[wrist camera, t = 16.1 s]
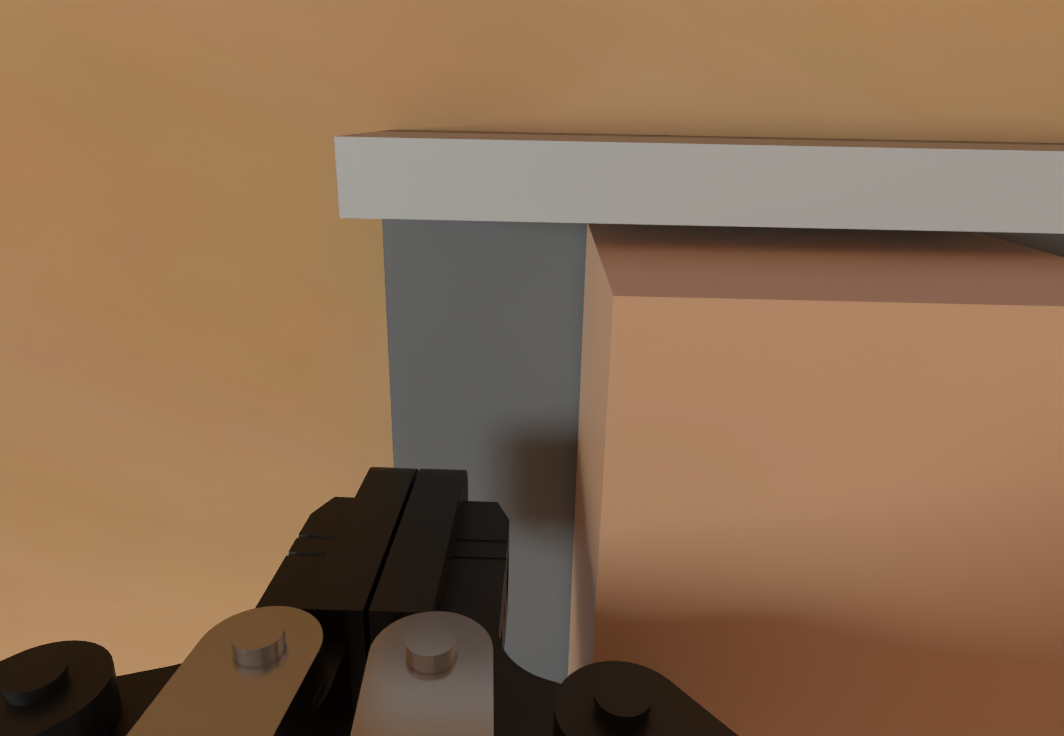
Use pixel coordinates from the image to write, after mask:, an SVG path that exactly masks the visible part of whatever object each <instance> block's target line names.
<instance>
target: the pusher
mask: <svg viewBox="0 0 1064 736" xmlns="http://www.w3.org/2000/svg"><path fill="white" fill-rule="evenodd" d="M603 661H624V662H631V663H635V664H639V665H642V666H645V667H647V668H650V669H652V670H654V671H656V672H658V673H660V674H661V675H663V676H664V677H666V678H667V679H669V680H670V681H671V682H672V683H674V684H675V685H676V686H677V687H679V688H680V689H681V690H682V691H683V692H685V693H686V694H687V695H688V696H690V697H691V698H692V699H693V700H695V701H696V702H697V703H698V704H700V705H701V706H702V707H703V708H705V709H706V710H707V711H708V712H710V713H711V714H712V715H713V716H715V717H716V718H717V719H718V720H720V721H721V722H722V723H723V724H725V725H726V726H727V727H728V728H729V729H731V730H732V731H733V732H734V733H736V734H737V735H738V736H1064V257H1061V256H1058V255H1054V254H1051V253H1047V252H1043V251H1040V250H1036V249H1033V248H1029V247H1026V246H1022V245H1019V244H1015V243H1012V242H1008V241H1004V240H1001V239H997V238H994V237H990V236H987V235H983V234H980V233H976V232H966V231H920V230H875V229H829V228H783V227H737V226H691V225H645V224H600V223H587V239H586V262H585V286H584V309H583V332H582V356H581V379H580V402H579V426H578V449H577V472H576V496H575V519H574V542H573V566H572V589H571V612H570V636H569V659H568V676H569V675H570V674H571V673H573V672H574V671H576V670H577V669H579V668H581V667H584V666H586V665H589V664H593V663H596V662H603Z"/></svg>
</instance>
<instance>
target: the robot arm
mask: <svg viewBox="0 0 1064 736" xmlns="http://www.w3.org/2000/svg"><path fill="white" fill-rule="evenodd" d="M508 584H509V519H508V517H507V516H506V514H505V512H504V511H503V509H502V508H501V506H500V505H499V503H498V502H482V501H468V474H467V470H454V469H422V468H421V469H420V470H418V469H417V468H385V467H371V468H370V469H369V471H368V473H367V475H366V477H365V479H364V481H363V483H362V485H361V487H360V488H359V490H358V492H357V494H356V496H355V498H349V497H334V498H333V499H331V500H330V501H328V502H327V503H326V504H324V505H323V506H321V507H320V508H319V509H317V510H316V511H314V512H313V513H312V514H311V515H310V516H309V518H308V520H307V521H306V523H305V525H304V527H303V528H302V530H301V532H300V533H299V538H296V540H295V542H294V543H293V545H292V547H291V549H290V550H289V555H288V556H286V557H285V559H284V560H283V562H282V564H281V565H280V567H279V569H278V571H277V572H276V574H275V576H274V577H273V579H272V581H271V582H270V584H269V586H268V587H267V589H266V591H265V593H264V594H263V596H262V598H261V599H260V601H259V603H258V604H257V606H256V608H255V609H251V610H247V611H244V612H241V613H239V614H236V615H233V616H231V617H229V618H227V619H225V620H223V621H222V622H220V623H219V624H217V625H216V626H214V627H213V628H212V629H211V630H209V631H208V632H207V633H206V634H205V635H204V636H203V637H202V638H201V640H200V641H199V642H198V643H197V645H196V646H195V647H194V649H193V650H192V651H191V652H190V654H189V655H188V656H187V658H186V659H185V660H184V662H183V663H181V664H177V665H173V666H169V667H163V668H158V669H153V670H148V671H143V672H137V673H132V674H127V675H122V676H116V673H115V668H114V663H113V659H112V656H111V654H110V653H109V652H108V650H106V649H105V648H104V647H102V646H100V645H98V644H95V643H92V642H87V641H61V642H54V643H49V644H45V645H41V646H37V647H34V648H31V649H28V650H25V651H23V652H20V653H18V654H16V655H13V656H11V657H9V658H7V659H5V660H2V661H0V736H738V735H737V734H736V733H734V732H733V731H732V730H731V729H729V728H728V727H727V726H726V725H725V724H723V723H722V722H721V721H720V720H718V719H717V718H716V717H715V716H713V715H712V714H711V713H710V712H708V711H707V710H706V709H705V708H703V707H702V706H701V705H700V704H698V703H697V702H696V701H695V700H693V699H692V698H691V697H690V696H688V695H687V694H686V693H685V692H683V691H682V690H681V689H680V688H679V687H677V686H676V685H675V684H674V683H672V682H671V681H670V680H669V679H667V678H666V677H664V676H663V675H661V674H660V673H658V672H656V671H654V670H652V669H650V668H647V667H645V666H642V665H639V664H635V663H631V662H624V661H603V662H596V663H593V664H589V665H586V666H584V667H581V668H579V669H577V670H576V671H574V672H573V673H571V674H570V675H569V676H568V677H567V678H566V679H565V680H564V681H563V682H562V684H561V683H557V682H554V681H551V680H547V679H544V678H541V677H539V676H536V675H534V674H532V673H530V672H528V671H526V670H524V669H523V668H521V667H520V666H519V665H517V664H516V663H515V662H514V661H513V660H512V659H511V658H510V657H509V656H508V655H507V653H506V652H505V651H504V647H505V636H506V624H507V612H508Z"/></svg>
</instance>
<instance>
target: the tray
mask: <svg viewBox="0 0 1064 736" xmlns="http://www.w3.org/2000/svg"><path fill="white" fill-rule="evenodd" d="M334 141H335V156H336V171H337V186H338V202H339V217H340V218H370V219H382V226H383V247H384V268H385V289H386V310H387V331H388V353H389V374H390V395H391V416H392V437H393V458H394V468H417V469H418V470H420V469H421V468H422V469H454V470H467V474H468V501H482V502H498V503H499V505H500V506H501V508H502V509H503V511H504V512H505V514H506V516H507V517H508V519H509V584H508V612H507V624H506V636H505V647H504V651H505V652H506V653H507V655H508V656H509V657H510V658H511V659H512V660H513V661H514V662H515V663H516V664H517V665H519V666H520V667H521V668H523V669H524V670H526V671H528V672H530V673H532V674H534V675H536V676H539V677H541V678H544V679H547V680H551V681H554V682H557V683H561V684H562V682H563V681H564V680H565V679H566V678H567V677H568V659H569V636H570V612H571V589H572V566H573V542H574V519H575V496H576V472H577V449H578V426H579V402H580V379H581V356H582V332H583V309H584V286H585V262H586V239H587V223H600V224H645V225H691V226H737V227H783V228H829V229H875V230H920V231H966V232H976V233H980V234H983V235H987V236H990V237H994V238H997V239H1001V240H1004V241H1008V242H1012V243H1015V244H1019V245H1022V246H1026V247H1029V248H1033V249H1036V250H1040V251H1043V252H1047V253H1051V254H1054V255H1058V256H1061V257H1064V144H1063V143H1013V142H964V141H914V140H864V139H815V138H765V137H716V136H666V135H617V134H567V133H517V132H468V131H418V130H386V131H377V132H369V133H360V134H352V135H343V136H334Z"/></svg>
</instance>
